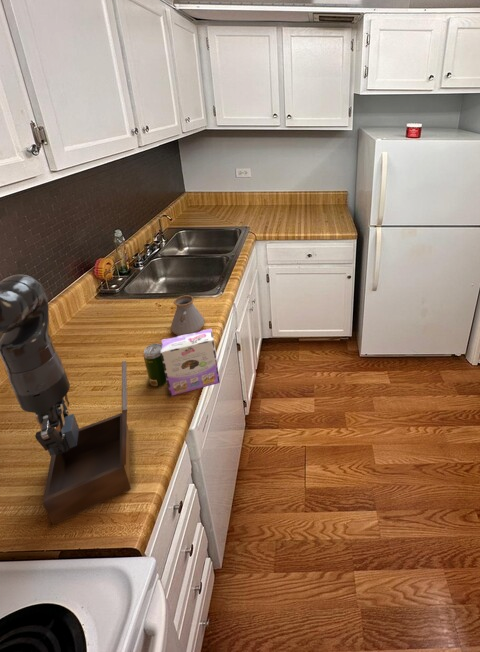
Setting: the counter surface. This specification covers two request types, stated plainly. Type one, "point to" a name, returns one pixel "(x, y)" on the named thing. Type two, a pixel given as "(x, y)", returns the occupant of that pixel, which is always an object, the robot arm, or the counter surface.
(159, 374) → the beer can
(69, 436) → the block
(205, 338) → the candy box
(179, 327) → the coffee pot
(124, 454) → the lid
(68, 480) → the box
